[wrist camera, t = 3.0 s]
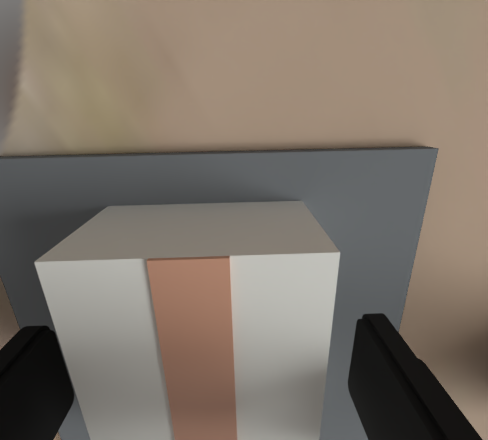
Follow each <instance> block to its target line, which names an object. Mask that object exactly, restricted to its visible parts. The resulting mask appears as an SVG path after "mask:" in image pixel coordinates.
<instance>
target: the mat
mask: <svg viewBox="0 0 488 440" xmlns="http://www.w3.org/2000/svg"><path fill="white" fill-rule="evenodd" d="M437 153H438V148H433V147H391V148H349V149H306V150H264V151H221V152H179V153H136V154H94V155H51V156H9V157H0V276H1V279H2V282H3V284H4V287H5V290H6V292H7V295H8V298H9V300H10V303H11V306H12V308H13V311H14V314H15V317H16V319H17V322H18V325H19V327H20V330H21V329H22V328H23V327H26V326H43V325H45V326H48V327H49V328H50V330H53V331H54V332H55V334H56V337H57V340H58V344H59V347H60V350H61V353H62V356H63V359H64V362H65V365H66V369H67V372H68V375H69V378H70V381H71V384H72V387H73V390H74V401H73V404H72V406H71V408H70V410H69V412H68V414H67V416H66V417H65V419H64V421H63V423H62V425H61V427H60V428H59V430H58V432H59V435H60V437H61V440H90V437H89V433H88V430H87V427H86V424H85V421H84V418H83V415H82V411H81V408H80V405H79V402H78V399H77V396H76V393H75V389H74V386H73V383H72V380H71V377H70V374H69V371H68V367H67V364H66V361H65V358H64V355H63V352H62V349H61V345H60V342H59V339H58V336H57V333H56V330H55V327H54V323H53V320H52V317H51V314H50V311H49V308H48V305H47V301H46V298H45V295H44V292H43V289H42V286H41V282H40V279H39V276H38V273H37V270H36V267H35V264H34V262H35V261H36V260H37V259H39V258H40V257H41V256H43V255H44V254H45V253H47V252H48V251H49V250H51V249H52V248H53V247H55V246H56V245H57V244H58V243H60V242H61V241H62V240H64V239H65V238H66V237H68V236H69V235H70V234H72V233H73V232H74V231H76V230H77V229H78V228H80V227H81V226H82V225H84V224H85V223H86V222H88V221H89V220H90V219H92V218H93V217H94V216H95V215H97V214H98V213H99V212H101V211H102V210H103V209H105V208H106V207H107V206H126V205H162V204H199V203H235V202H272V201H302V202H303V203H304V204H305V206H306V207H307V208H308V210H309V211H310V212H311V214H312V215H313V216H314V218H315V219H316V220H317V222H318V223H319V224H320V226H321V227H322V228H323V230H324V231H325V232H326V234H327V235H328V236H329V238H330V239H331V241H332V242H333V243H334V245H335V246H336V247H337V249H338V250H339V251H340V260H339V269H338V277H337V286H336V295H335V304H334V313H333V322H332V331H331V339H330V348H329V357H328V366H327V375H326V384H325V393H324V402H323V410H322V419H321V428H320V437H319V440H368V438H367V435H366V433H365V430H364V428H363V425H362V423H361V420H360V418H359V416H358V413H357V411H356V408H355V406H354V403H353V401H352V398H351V396H350V393H349V389H348V376H349V370H350V363H351V356H352V350H353V343H354V336H355V330H356V323H357V320H358V319H362V316H363V314H374V313H383V314H385V315H386V316H387V318H388V319H389V321H390V322H391V323H392V325H393V326H394V327H395V329H396V330H397V331H398V332H399V328H400V323H401V318H402V314H403V309H404V305H405V300H406V295H407V291H408V286H409V282H410V277H411V273H412V268H413V263H414V259H415V254H416V250H417V245H418V240H419V236H420V231H421V227H422V222H423V217H424V213H425V208H426V204H427V199H428V195H429V190H430V185H431V181H432V176H433V172H434V167H435V162H436V158H437Z"/></svg>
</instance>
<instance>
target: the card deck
mask: <svg viewBox="0 0 488 440" xmlns="http://www.w3.org/2000/svg"><path fill="white" fill-rule="evenodd" d="M339 260H340V251H339V250H338V249H337V247H336V246H335V245H334V243H333V242H332V241H331V239H330V238H329V236H328V235H327V234H326V232H325V231H324V230H323V228H322V227H321V226H320V224H319V223H318V222H317V220H316V219H315V218H314V216H313V215H312V214H311V212H310V211H309V210H308V208H307V207H306V206H305V204H304V203H303V202H302V201H272V202H235V203H199V204H162V205H126V206H107V207H106V208H105V209H103V210H102V211H101V212H99V213H98V214H97V215H95V216H94V217H93V218H92V219H90V220H89V221H88V222H86V223H85V224H84V225H82V226H81V227H80V228H78V229H77V230H76V231H74V232H73V233H72V234H70V235H69V236H68V237H66V238H65V239H64V240H62V241H61V242H60V243H58V244H57V245H56V246H55V247H53V248H52V249H51V250H49V251H48V252H47V253H45V254H44V255H43V256H41V257H40V258H39V259H37V260H36V261H35V262H34V264H35V267H36V270H37V273H38V276H39V279H40V282H41V286H42V289H43V292H44V295H45V298H46V301H47V305H48V308H49V311H50V314H51V317H52V320H53V323H54V327H55V330H56V333H57V336H58V339H59V342H60V345H61V349H62V352H63V355H64V358H65V361H66V364H67V367H68V371H69V374H70V377H71V380H72V383H73V386H74V389H75V393H76V396H77V399H78V402H79V405H80V408H81V411H82V415H83V418H84V421H85V424H86V427H87V430H88V433H89V437H90V440H319V437H320V428H321V419H322V410H323V402H324V393H325V384H326V375H327V366H328V357H329V348H330V339H331V331H332V322H333V313H334V304H335V295H336V286H337V277H338V269H339Z"/></svg>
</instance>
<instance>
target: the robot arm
mask: <svg viewBox="0 0 488 440" xmlns="http://www.w3.org/2000/svg"><path fill="white" fill-rule="evenodd" d="M348 389H349V393H350V396H351V398H352V401H353V403H354V406H355V408H356V411H357V413H358V416H359V418H360V420H361V423H362V425H363V428H364V430H365V433H366V435H367V438H368V440H482V439H481V437H480V436H479V435H478V433H477V432H476V431H475V429H474V428H473V427H472V425H471V424H470V423H469V421H468V420H467V419H466V417H465V416H464V415H463V413H462V412H461V411H460V409H459V408H458V407H457V405H456V404H455V403H454V401H453V400H452V399H451V397H450V396H449V395H448V393H447V392H446V391H445V389H444V388H443V387H442V385H441V384H440V383H439V381H438V380H437V379H436V377H435V376H434V375H433V373H432V372H431V371H430V369H429V368H428V367H427V365H426V364H425V363H424V362H423V361H422V360H420V359H418V358H417V357H416V356H415V354H414V353H413V352H412V350H411V349H410V348H409V346H408V345H407V344H406V342H405V341H404V340H403V338H402V337H401V335H400V334H399V333H398V331H397V330H396V329H395V327H394V326H393V325H392V323H391V322H390V321H389V319H388V318H387V316H386V315H385V314H383V313H374V314H363V316H362V319H358V320H357V323H356V330H355V336H354V343H353V350H352V356H351V363H350V370H349V376H348ZM73 401H74V390H73V387H72V384H71V381H70V378H69V375H68V372H67V369H66V365H65V362H64V359H63V356H62V353H61V350H60V347H59V344H58V340H57V337H56V334H55V332H54V331H53V330H50V328H49V327H48V326H45V325H43V326H26V327H23V328H22V329H21V330H20V331H19V332H18V333H17V334H16V335H15V336H14V337H13V338H12V339H11V340H10V341H9V342H8V343H7V344H6V345H5V346H4V347H3V348H2V349H1V350H0V440H53V439H54V437H55V436H56V434H57V432H58V430H59V428H60V427H61V425H62V423H63V421H64V419H65V417H66V416H67V414H68V412H69V410H70V408H71V406H72V404H73Z"/></svg>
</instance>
